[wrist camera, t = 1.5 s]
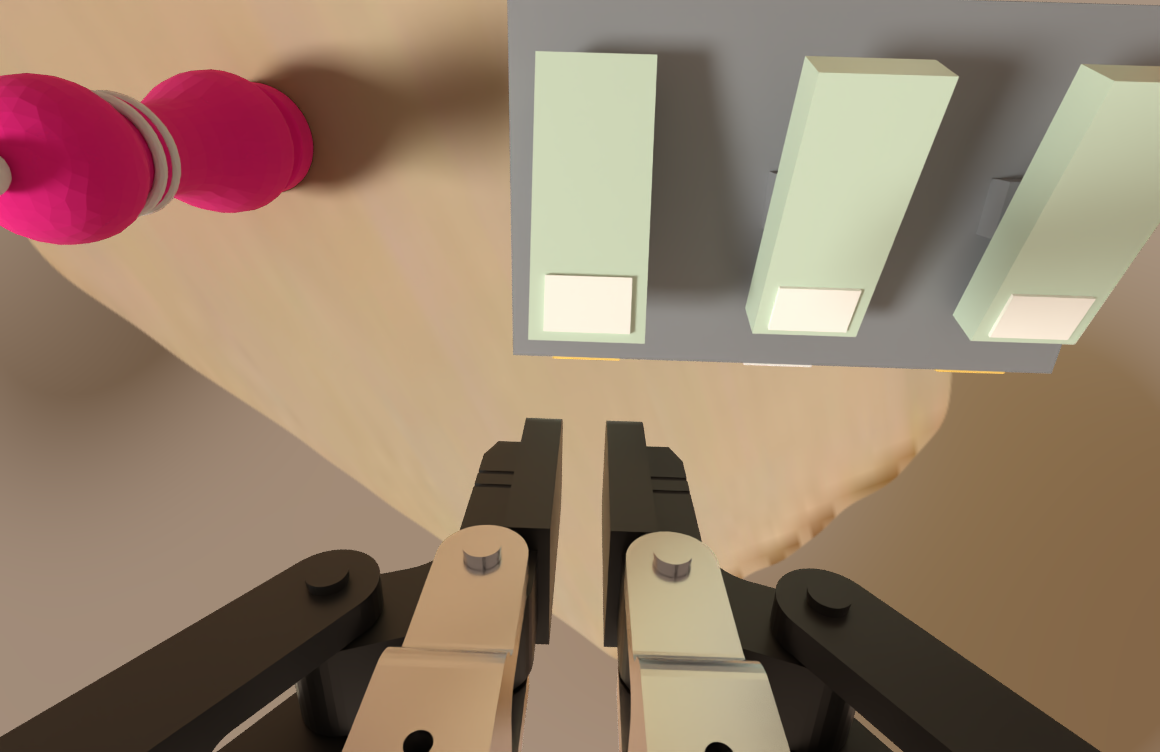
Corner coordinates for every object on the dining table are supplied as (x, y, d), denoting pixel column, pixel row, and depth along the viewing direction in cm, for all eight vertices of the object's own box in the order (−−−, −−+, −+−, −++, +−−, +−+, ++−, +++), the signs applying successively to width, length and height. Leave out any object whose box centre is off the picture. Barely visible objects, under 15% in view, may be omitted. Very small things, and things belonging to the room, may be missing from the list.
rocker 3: (1081, 64, 18) (1118, 82, 17) (1213, 67, 18) (1260, 86, 17) (952, 314, 24) (972, 343, 23) (1051, 318, 24) (1076, 346, 23)
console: (544, 34, 35) (502, -19, 20) (937, 46, 35) (1214, 0, 19) (543, 266, 40) (510, 371, 25) (884, 278, 40) (1068, 390, 25)
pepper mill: (304, 66, 36) (5, 31, 18) (335, 195, 39) (104, 278, 21) (184, 79, 37) (-229, 56, 18) (223, 205, 39) (-100, 295, 21)
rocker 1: (539, 70, 21) (535, 48, 19) (652, 74, 21) (658, 52, 19) (532, 337, 22) (527, 339, 20) (640, 341, 22) (645, 344, 20)
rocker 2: (805, 55, 18) (820, 73, 17) (935, 59, 18) (961, 78, 17) (745, 308, 24) (753, 335, 23) (843, 311, 24) (857, 339, 23)
